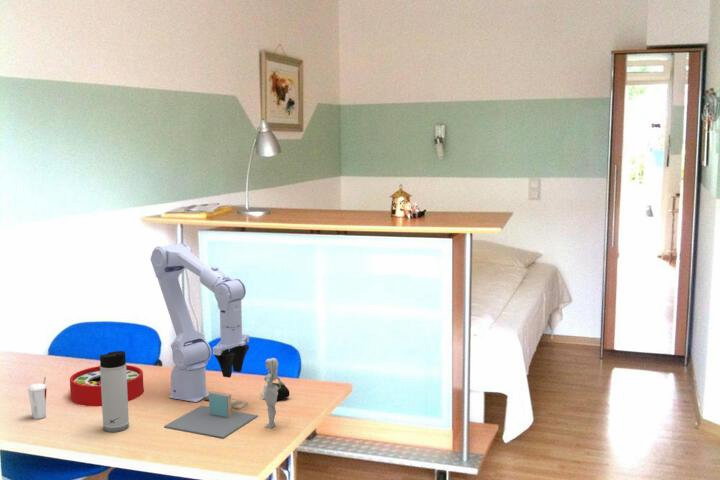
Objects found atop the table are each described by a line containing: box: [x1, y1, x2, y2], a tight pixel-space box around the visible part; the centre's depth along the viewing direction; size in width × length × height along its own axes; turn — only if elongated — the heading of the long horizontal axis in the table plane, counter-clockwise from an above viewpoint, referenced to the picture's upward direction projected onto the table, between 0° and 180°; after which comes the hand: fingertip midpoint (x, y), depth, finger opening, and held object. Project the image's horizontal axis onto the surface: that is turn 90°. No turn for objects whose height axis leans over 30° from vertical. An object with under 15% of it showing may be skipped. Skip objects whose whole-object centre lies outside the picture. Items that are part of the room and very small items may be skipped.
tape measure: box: [272, 382, 290, 401], centre depth 214 cm, size 7×7×4 cm
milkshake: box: [27, 376, 48, 420], centre depth 199 cm, size 4×5×10 cm
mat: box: [163, 405, 259, 440], centre depth 196 cm, size 18×16×1 cm
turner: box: [202, 396, 249, 410], centre depth 210 cm, size 13×4×1 cm, turn 66°
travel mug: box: [99, 350, 130, 433], centre depth 191 cm, size 6×7×20 cm
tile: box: [208, 390, 233, 418], centre depth 199 cm, size 6×2×6 cm, turn 66°
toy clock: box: [69, 364, 145, 407], centre depth 217 cm, size 20×6×20 cm
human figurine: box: [259, 357, 285, 429], centre depth 191 cm, size 12×4×18 cm, turn 160°
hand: (232, 374), depth 204 cm, fingers open, 4 cm apart
